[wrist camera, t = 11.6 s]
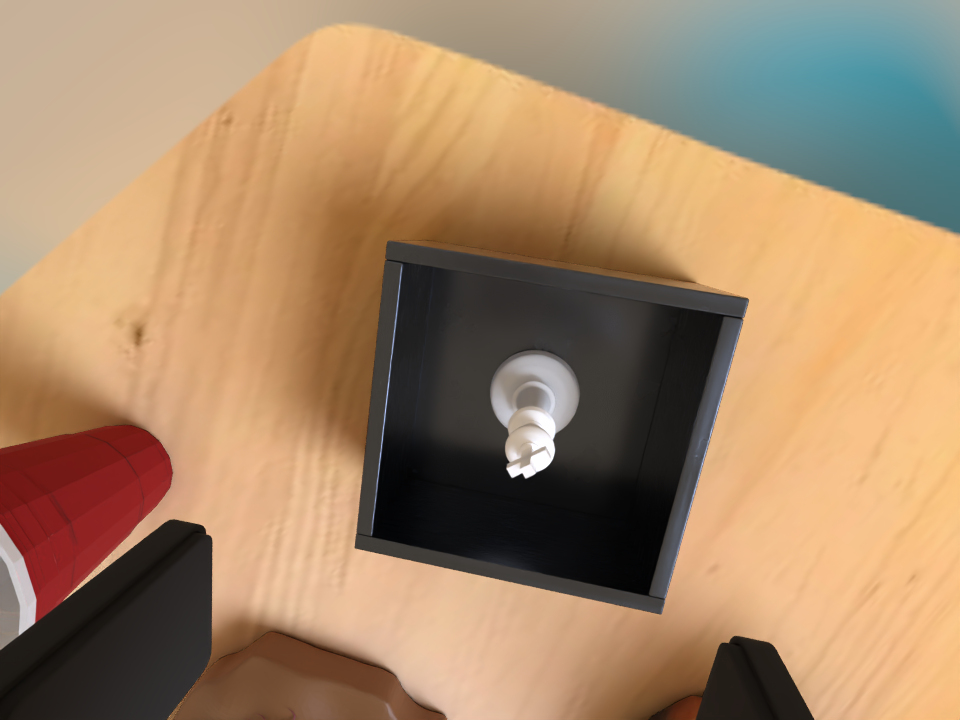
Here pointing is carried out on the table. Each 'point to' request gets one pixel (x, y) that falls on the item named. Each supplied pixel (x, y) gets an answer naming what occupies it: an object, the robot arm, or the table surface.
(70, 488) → the plastic cup
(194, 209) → the table surface
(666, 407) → the dark grey open box
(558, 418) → the chess piece
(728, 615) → the table surface
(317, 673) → the plant
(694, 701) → the lucky cat figurine
